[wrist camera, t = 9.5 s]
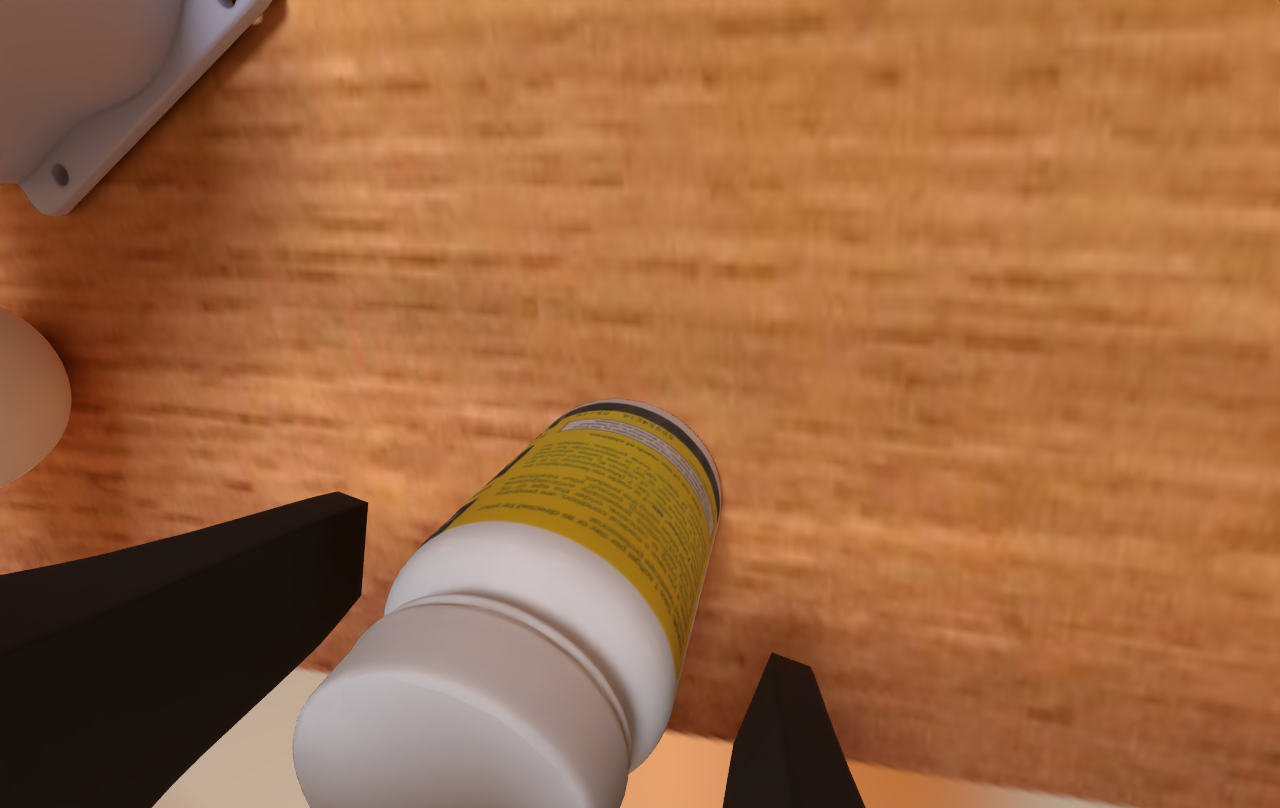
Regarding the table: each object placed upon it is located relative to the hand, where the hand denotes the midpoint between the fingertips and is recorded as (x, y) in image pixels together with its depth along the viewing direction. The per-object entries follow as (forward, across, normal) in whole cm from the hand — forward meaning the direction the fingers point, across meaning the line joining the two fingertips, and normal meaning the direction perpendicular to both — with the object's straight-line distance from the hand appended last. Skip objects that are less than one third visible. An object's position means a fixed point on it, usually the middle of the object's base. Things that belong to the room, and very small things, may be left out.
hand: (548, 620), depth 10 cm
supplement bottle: (+5, 0, 0) cm, 5 cm away
